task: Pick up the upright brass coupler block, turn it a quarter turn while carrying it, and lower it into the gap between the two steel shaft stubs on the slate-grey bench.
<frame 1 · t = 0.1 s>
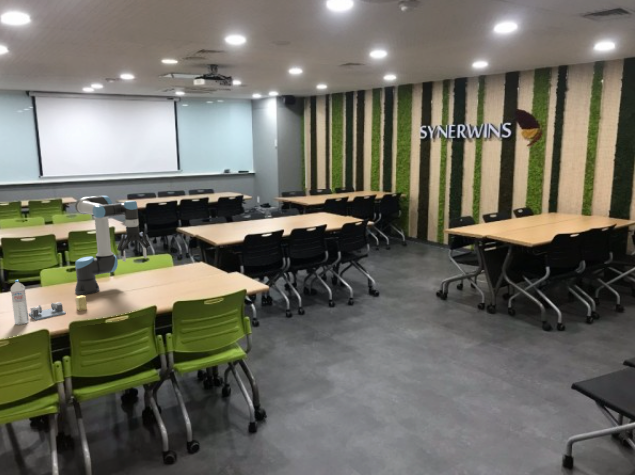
hand: (134, 259, 314), 28 cm above the table, fingers open, 13 cm apart
coupler: (81, 309, 307), on the table
water bottle: (22, 323, 284), on the table
shaft bench: (47, 314, 298), on the table
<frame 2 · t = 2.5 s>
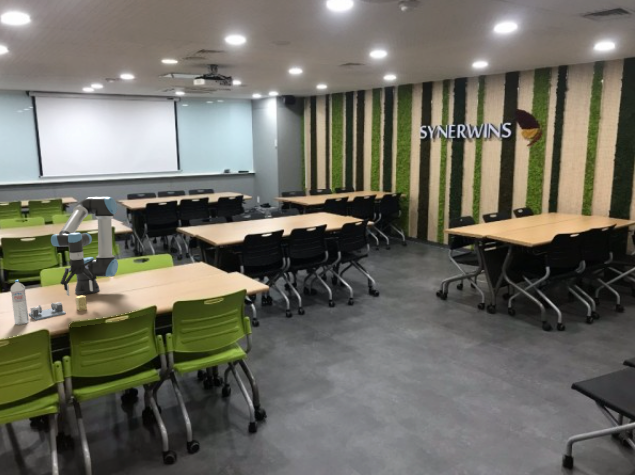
hand: (79, 293, 305), 10 cm above the table, fingers open, 13 cm apart
nothing on the table moved.
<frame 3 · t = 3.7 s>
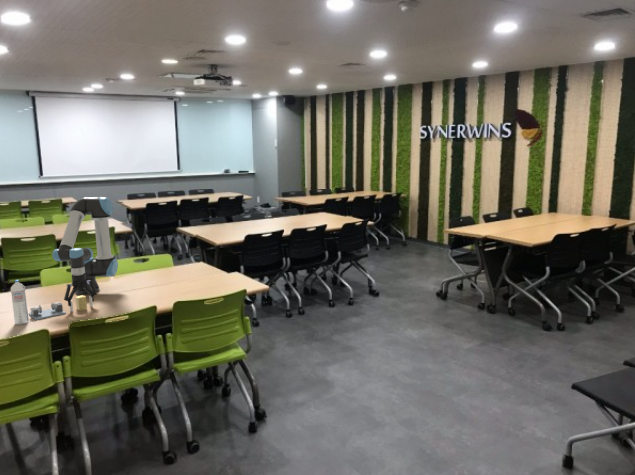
hand: (81, 308, 307), 0 cm above the table, fingers open, 11 cm apart
nothing on the table moved.
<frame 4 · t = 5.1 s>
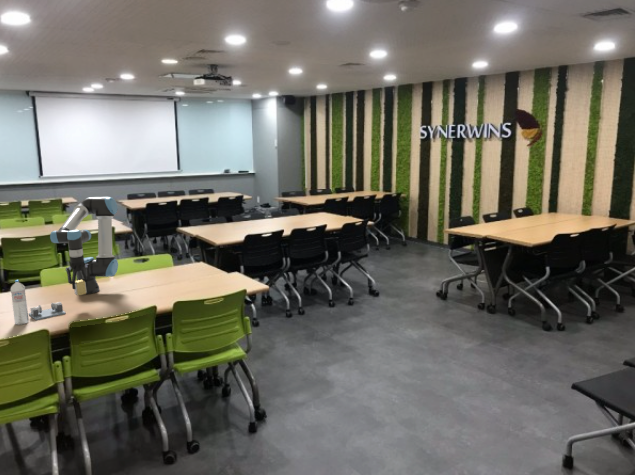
hand: (80, 293, 306), 10 cm above the table, fingers closed on coupler, 4 cm apart
coupler: (80, 293, 306), point 10 cm above the table, touching gripper
everything else where it was.
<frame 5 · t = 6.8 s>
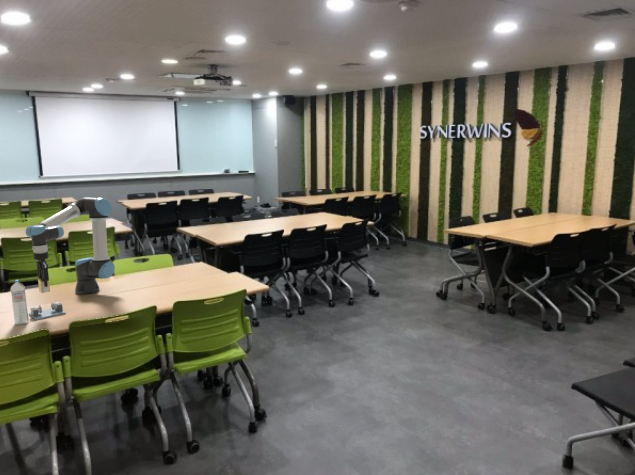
hand: (44, 290, 296), 14 cm above the table, fingers closed on coupler, 4 cm apart
coupler: (44, 291, 296), point 14 cm above the table, touching gripper
everything else where it was.
when the fingers open (2 cm above the table, at t = 8.7 s): coupler stays where it is, resting on shaft bench.
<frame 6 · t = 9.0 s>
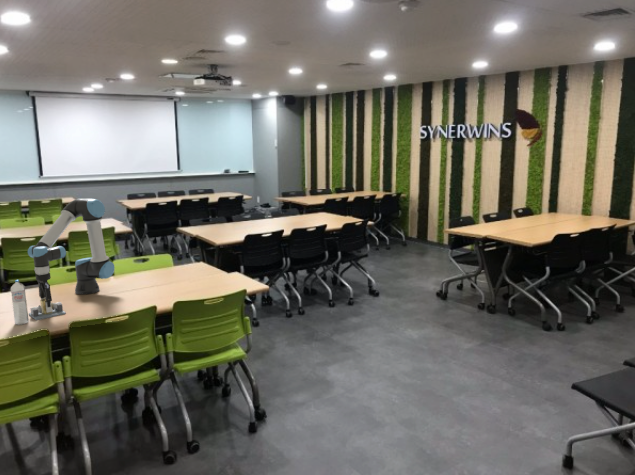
hand: (46, 310, 298), 2 cm above the table, fingers open, 8 cm apart
coupler: (46, 312, 298), point 1 cm above the table, touching shaft bench
everything else where it was.
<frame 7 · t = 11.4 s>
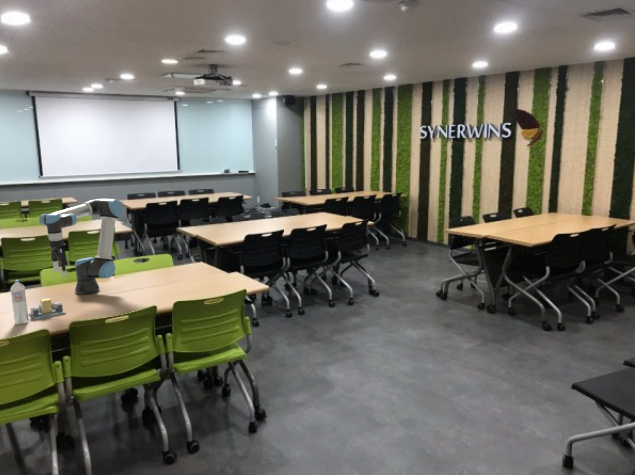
hand: (60, 273, 305), 22 cm above the table, fingers open, 13 cm apart
nothing on the table moved.
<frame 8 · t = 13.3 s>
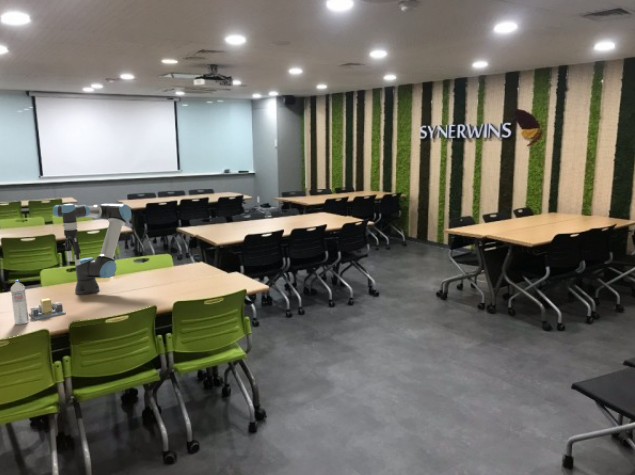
hand: (73, 263, 312), 27 cm above the table, fingers open, 13 cm apart
nothing on the table moved.
at the end: coupler 0.1 cm off-centre on the shaft bench, point 1.0 cm above the shaft bench's base; coupler tilted 0°; the gripper is holding nothing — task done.
